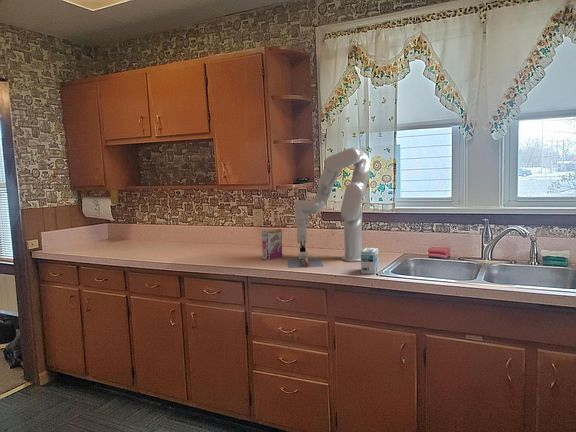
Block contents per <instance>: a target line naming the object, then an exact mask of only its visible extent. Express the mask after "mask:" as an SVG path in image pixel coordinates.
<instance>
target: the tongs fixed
mask: <svg viewBox="0 0 576 432" xmlns="http://www.w3.org/2000/svg"><path fill="white" fill-rule="evenodd" d="M303 257H304V256H303ZM304 260H305V264H306V267H305V268H310V267H309V262H308V260H307V257H306V256H305V257H304Z"/></svg>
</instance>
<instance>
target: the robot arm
mask: <svg viewBox="0 0 576 432" xmlns="http://www.w3.org/2000/svg"><path fill="white" fill-rule="evenodd" d="M352 165H353V166H354V167H353V171H352V176H351V180H350V183H349V184H348V185H347V186H346V188H345V189H344V190H345V191H344V194H343V199H342V203H341V207H340V216H341V217H342V219H343V220H344V221H343V223H344V224H343V227H344V228H343V234H344V235H343V236H344V237H343V238H344V256H341V259H342V261H344V262H353V263H355V262H361V251H362V250H363V208H362V200H363V198H364V197H365V196H366V191H367V185H368V180H369V175H370V171H371V162H370V159H369V157H368V154H366V153H365V152H364V151H363V150H362V149H360V148H357V147H350V148H346V149H344V150H342V151H339V152H337V153H335V154H332V155H329V156H327V158H325V160H324V162H323V167H324V168H323V170H322V173H321V175H320V177H319V179H318V182H317V183H318V188H317V192H316V194H315V196H314V198H313V200H306V199H305V200H303V199H302V200H301V199H300V200H295V201H294V221H295V222H294V223H295V226H296V236H297V237H296V238H297V239H296V240H297V244H299V252H307V251H306V243H307V239H308V238H307V236H308V229H307V226H309V223H310V219H309V214H311V215H316V214H318V213H320V212H322V211H323V210H324V209H325V206H326V204H327V203H328V200H329V198H330V196H331V193H332V190H333V187H334V185H335V183H336V181H337V178H338V177H339V174H340V173H341V171H342V170H343V169H345V168H347V167H350V166H352Z"/></svg>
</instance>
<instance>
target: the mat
mask: <svg viewBox="0 0 576 432" xmlns="http://www.w3.org/2000/svg"><path fill="white" fill-rule="evenodd" d="M286 260H287V267H288V269H296V268H297V269H298V268H304V267H303V265H302V260H301V259H299V257H298V258H297V257H296V258H287V259H286ZM307 260H308V262H309V267H308V268H319V267H320V268H321V267H325V266H324V264H323V262H322V260H321V258H320V257H308V259H307ZM305 265H306V264H305Z"/></svg>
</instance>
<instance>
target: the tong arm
mask: <svg viewBox="0 0 576 432" xmlns="http://www.w3.org/2000/svg"><path fill="white" fill-rule="evenodd" d="M301 260H302V265H303V267H302V268H307V267H306V265H305V260H304V256H301Z"/></svg>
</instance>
